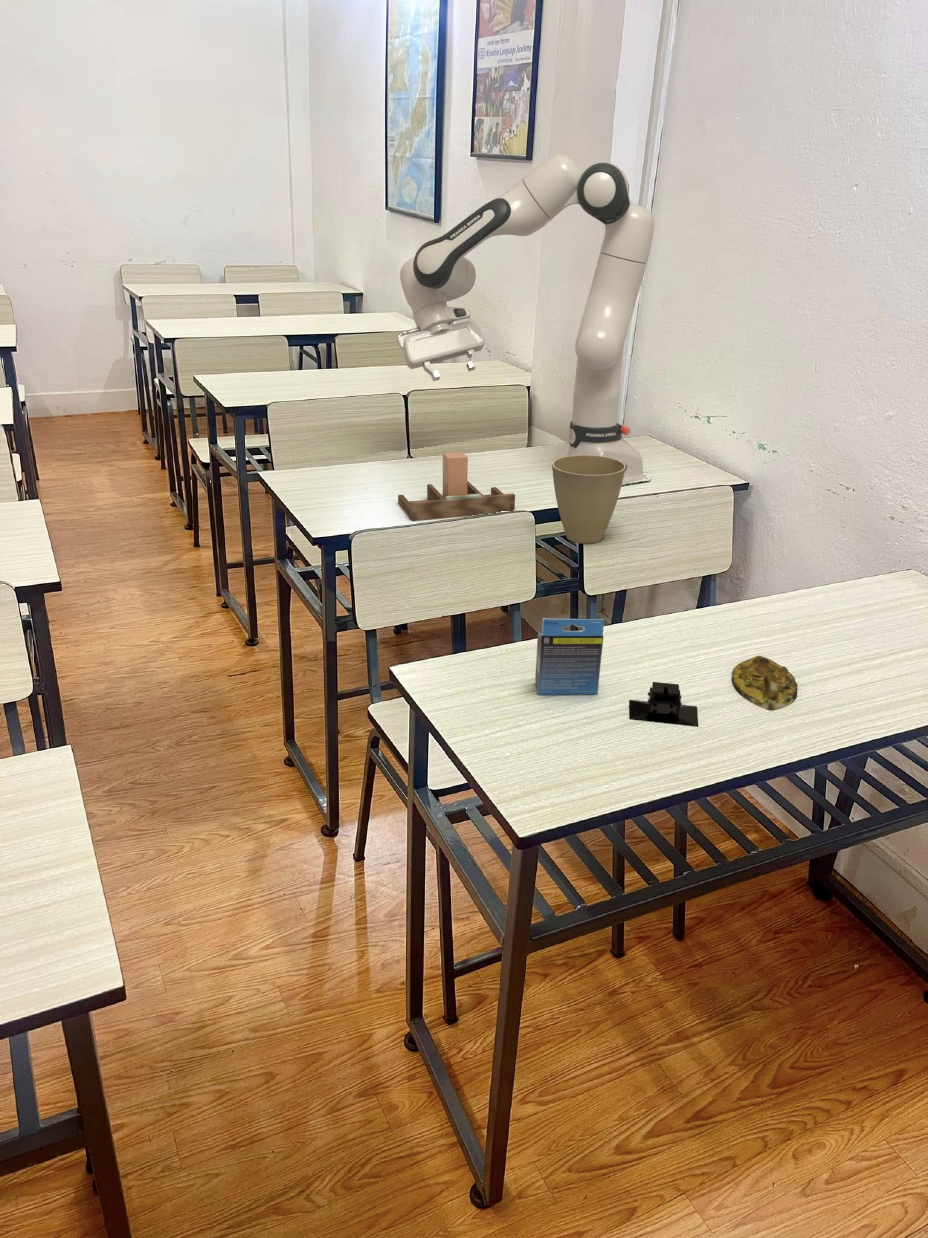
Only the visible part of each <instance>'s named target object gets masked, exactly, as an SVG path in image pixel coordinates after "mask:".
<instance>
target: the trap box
mask: <svg viewBox="0 0 928 1238" xmlns="http://www.w3.org/2000/svg"><path fill="white" fill-rule="evenodd" d="M397 504H398V505H399V506H400V508H401V509H402V510H403V512H404V513H405V514H406V516H407V517H408V518H409V519H410V520H411V522H417V521H429V520H439V519H451V518H460V517H461V518H462V516H463V517H473V516H472V515H474V516H480V515H479V514H485V515H489V514H488V513H496V512H501V511H513V510H515V509H516V508H515V507H516V506H515V505H516V494H515V493H514V492H513V493H503V492H502V491H501V490H500V489H499V488H498V487H496V486H492V487H490V494H482V492H481V491H480V490H478V489H477V488H476V487H475V485H473V484H472V483H470V482H469V480H467V495H457V496H446V499H445V498H444V497H443V494H441V493H440V492H439V490H437V488H436V487H435V486H434V485H433V484H432V483H427V485H426V499H422V500H421V499H419V500H412V501H411V500H410V501H409V500H408V499H407V497H405V495H404V494H397Z"/></svg>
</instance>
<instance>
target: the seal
mask: <svg viewBox="0 0 928 1238" xmlns="http://www.w3.org/2000/svg"><path fill="white" fill-rule="evenodd" d="M731 682H732V686H733V687H734V689H735V690H736V692H737V693H738V694H739V695H740V696H741V698H743V699H745V700H746V701H749V703H752V704H753V705H755V706H758V707H759V708H761V709H764V710H768V711H776V710H780V709H783V708H786V707H788V706H790V705H792V704H793V703H794V702H795V700H796V699H797V697H798V683H797V682H796V678H795V676H794V675H793V674H792V673H791V672H790V671H789V669H788V667H787V666H784V665H783V666H782V665H780V664H778V663H777V662H775V661H773V660H772V659H770V658H768V657H765V656H762V655H756V656H754V657H752V658H749V659H746V660H743V661H741V662H739V663H738V664H736V666H734V667H733V669H732V671H731Z"/></svg>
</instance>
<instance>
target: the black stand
mask: <svg viewBox="0 0 928 1238" xmlns="http://www.w3.org/2000/svg"><path fill="white" fill-rule="evenodd" d="M647 696H648V698H647V700H636V699H629V700H628V709H629V710H628V719H629V720H630V721H632V720H633V721H638V722H639V721H640V722H649V723H658V724H669V725H677V726H678V725H679V726H685V727H686V726H687V727H695V728H699V716H698V715H699V713H698V706H697V705H686V704H683V703H682V695H681V690H680V685H679V684H678V683H670V682H660V681H659V682H658V681H652V684H651V686H650V687H649V691H647Z"/></svg>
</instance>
